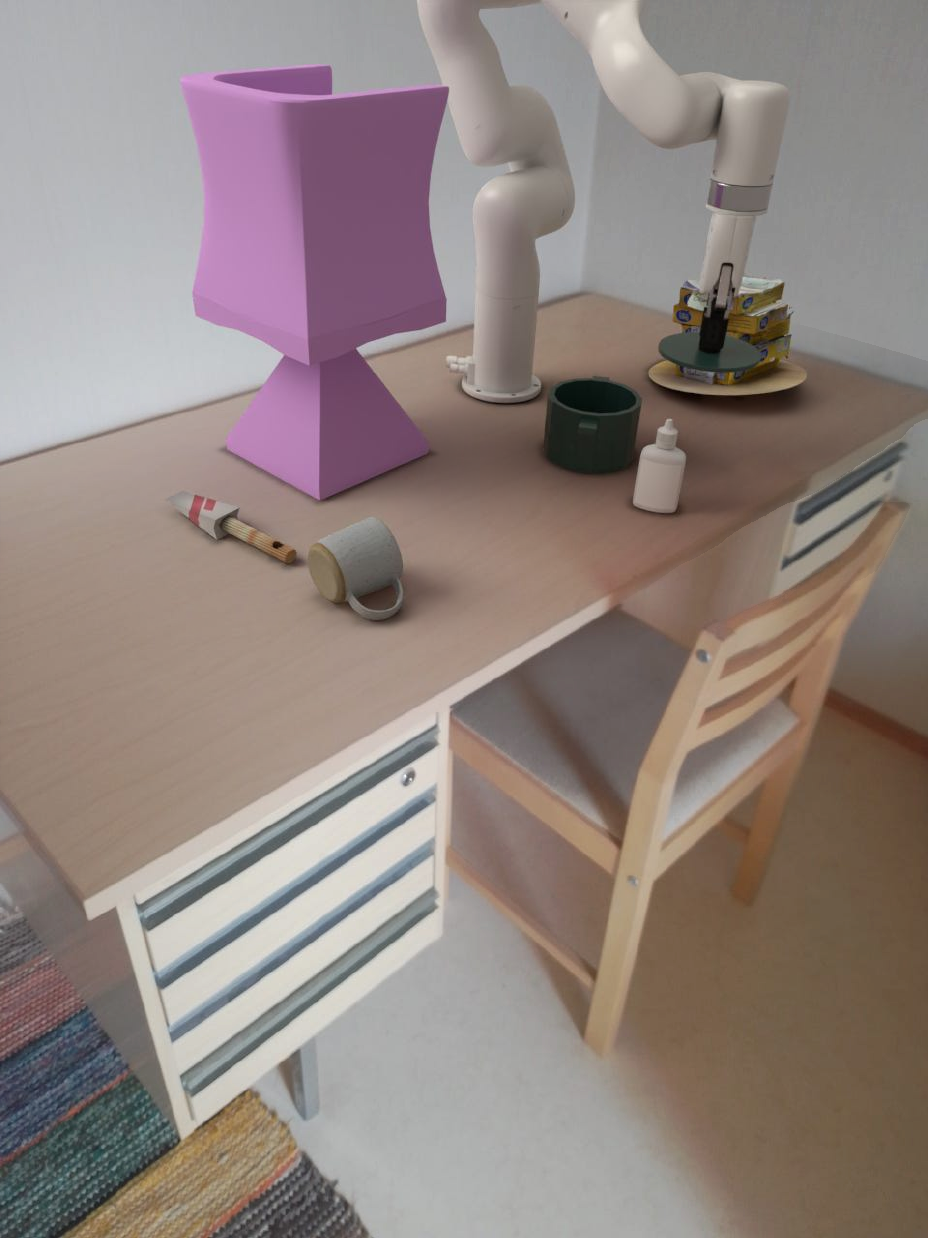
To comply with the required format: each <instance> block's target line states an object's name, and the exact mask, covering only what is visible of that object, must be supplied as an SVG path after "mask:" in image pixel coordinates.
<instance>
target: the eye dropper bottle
mask: <svg viewBox="0 0 928 1238" xmlns="http://www.w3.org/2000/svg"><path fill="white" fill-rule="evenodd" d="M673 421H674V420H673V418H667V419H666V420H665V423H664V426H660V427H659V428H657V432H656V438H655V443H653V444H648V445H646V446H644V447H643V448H642V450H641V452H640V456H639V461H638V466H637V467H638V468H637V472H636V479H635V485H634V491H633V498H632V504H633V506H634V507H636V508H638V509H640V510H644V511H647V512H651V513H659V514H672V513H674V512H676V510H677V508H678V503H679V499H680V493H681V487H682V483H683V479H684V472H685V468H686V461H687V455H686V453H685V452H684V451H683V450H682V449H680V448H679V447H677V446H676V444H677V439H678V433H679V432H678V430H677V429H676V428H675V427H674V423H673Z"/></svg>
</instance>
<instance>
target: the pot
mask: <svg viewBox="0 0 928 1238" xmlns="http://www.w3.org/2000/svg"><path fill="white" fill-rule="evenodd" d="M642 404H643V397H642V396H641V395H640V394H639V392H638V390H636V389H634V388H632V387H630V386H628V385H626V384H624V383H621V382H617V381H613V380H610V377H607V376H599V375H592V377H581V378H571V379H566V380H561V381H559V382H557V383H556V384H553V385H552V386H551V387H550V388H549V391H548V393H547V402H546V413H545V414H546V415H545V423H544V435H543V443H542V444H543V446H542V448H543V454H544V456H545V457H546V458H547V459H548V460H549V461H550V462H551V463H552V464H554V465H556V466H558V467H560V468H562V469H565V470H569V471H572V472H577V473H581V474H595V475H596V474H597V475H598V474H600V475H601V474H608V473H609V474H610V473H615V472H618V471H621V470H624V469H625V468H627V467H628V466H630V465H631V463H632V462H633V459H634V455H635V454H634V453H635V448H636V441H637V435H638V428H639V422H640V416H641V410H642Z"/></svg>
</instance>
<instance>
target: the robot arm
mask: <svg viewBox="0 0 928 1238" xmlns="http://www.w3.org/2000/svg"><path fill="white" fill-rule="evenodd" d="M416 4H417V5H416V7H417V12H418V13H417V14H418V18H419V22H420V26H421V29H422V31H423V35H424V37H425V40H426V42H427V45H428V47H429V50H430V53H431V55H432V57H433V61H434V63H435V66H436V68H437V71H438V74H439V77H440V80H441V85H443V86H448V87H449V95H448V100H447V105H448V108H449V111H450V115H451V118H452V121H453V124H454V127H455V132H456V134H457V138H458V140H459V144H460V146H461V148H462V151H463V153H464V155H465V157H466V158H467V159H468V160H469V161H470V163H472V164H473V165H475V166H478V167H481V168H482V167H483V168H490V167H497V166H501V165H505V164H508V168H509V171H510V172H506V173H503V174H500V175H497V176H495V177H493V178H492V179H490V180H488V181H487V182H486V183H485V184H484V185H483V186H482V187H481V188H480V190H479V191H478V192H477V194H476V196H475V198H474V202H473V206H472V228H473V234H474V242H475V255H476V257H475V259H476V261H475V263H476V268H475V269H476V270H475V271H476V272H475V297H474V299H475V301H474V305H475V306H474V322H473V323H474V324H473V344H472V345H473V346H472V355H466V357H461V356H459V355H450V354H447V356H446V359H445V368H448V369H449V373H451V374H452V373H453V374H463V376H462V379H461V389H462V390H463V391H464V392H465V393H466V394H467V395H469V396H470V397H473V398H475V399H478V400H480V401H485V402H489V403H496V404H515V403H516V404H517V403H522V402H526V401H529V400H532V399H534V398H536V397H537V396H538V395H539V394H540V393H541V391H542V381H541V380H540V379H539V377H538V376H536V374H534V373H533V369H534V358H535V357H534V356H535V345H536V344H535V343H536V332H537V322H538V320H537V319H538V309H539V297H540V286H541V285H540V284H541V283H540V282H541V267H540V261H539V255H538V251H537V247H536V240H538V239H539V238H541V237H544V236H548V235H550V234H553V233H555V232H557V231H558V230H560V229H562V228H563V227H565V226H566V224H568V222H569V221H570V219H571V218H572V215H573V213H574V210H575V206H576V191H575V190H576V189H575V185H574V184H575V183H574V181H573V176H572V173H571V169H570V165H569V162H568V158H567V154H566V150H565V147H564V144H563V139H562V137H561V132H560V129H559V125H558V122H557V119H556V116H555V113H554V111H553V108H552V107H551V104H550V103H549V102H548V100H547V99H546V98H545V96H544V95H543V94H542V93H541V92H539V90H537V89H535V88H533V87H531V86H528V85H511V86H510V84H509V82H508V79H507V76H506V73H505V70H504V68H503V63H502V59H501V56H500V52H499V50H498V47H497V44H496V42H495V41H494V39H493V36H492V35H491V34H490V32H489V30H488V29H487V28H486V26H485V25H484V23H483V21H482V20H481V18H480V14H479V13H480V10H493V9H509V8H510V9H511V8H519V7H525V6H532V5H533V6H534V5H538V4H543V6H544V7H545V8H546V9H547V10H548V11H549V12H550V13H551V14H552V15H553V16H554V17H555V18H556V19H557V20H558V21H559V23H561V24H562V26H563V27H564V28H565V29H566V30H567V31H568V33H570V35H572V37H573V38H574V39H575V40H576V41H577V42H578V43H579V45H581V46H582V48H583V49H584V50H585V51H586V52H587V53H588V55H589V56H590V57H591V60H592V65H593V68H594V71H595V73H596V76H597V78H598V80H599V83H600V85H601V88H602V90H603V91H604V93H605V95H606V97H607V98H608V100H609V101H610V103H611V104H612V105H613V106H614V107H615V109H616V110H617V111H618V113H620V114H621V115H622V116H623V118H624V119H626V121H627V122H628V123H629V124H630V125H631V126H632V128H634V130H636V131H637V133H638V134H640V135H641V136H642V137H643V138H644V139H646V140H647V141H648V142H650V143H651V144H653V145H654V146H656V147H659V148H661V149H666V150H675V149H679V148H683V147H686V146H688V145H692V144H698V143H703V142H708V141H716V142H715V147H714V152H713V159H712V165H711V171H710V178H709V183H708V188H707V194H706V199H705V208H706V209H707V210H709V211H711V212H712V213H711V217H710V222H709V227H708V231H707V235H706V236H707V237H706V241H705V247H704V254H703V259H702V265H701V270H700V274H699V280H700V284H699V292H700V293H701V294H702V295H704V294H705V293H708V297H707V303H706V306H708V307H704V311H703V316H702V322H701V327H700V333H699V336H700V340H699V346H700V347H702V348H712V349H722V348H723V347H724V342H725V336H726V331H727V326H728V321H729V318H728V314H729V308H730V303H731V299H732V296H733V298H734V297H736V296H737V295H738V293H739V290H740V286H741V282H742V279H743V275H745V274H744V273H745V271H746V267H747V261H748V258H749V253H750V248H751V243H752V239H753V234H754V229H755V224H756V220H757V217H758V216H762V215H765V214H767V213H768V209H769V206H770V205H769V204H770V200H771V195H772V191H773V185H774V179H775V175H776V171H777V165H778V161H779V156H780V151H781V146H782V141H783V137H784V133H785V127H786V122H787V117H788V113H789V108H790V102H791V94H790V90H789V89H788V87H787V86H786V85H784V84H781V83H778V82H774V81H769V80H754V79H753V80H752V79H751V80H750V79H749V80H741V79H737V78H734V77H731V76H729V75H728V76H727V75H724V74H722V73H718V72H712V71H700V72H694V73H693V72H691V73H687V74H681V75H679V74H677V72H675V70H674V69H673V68H671V66H670V65H669V64H668V63H667V62H665V60H664V59H663V58H662V57H661V56H660V55H659V54H658V52H657V51H656V50H655V49H654V48H653V47H652V45H651V44H650V43H649V41H648V40H647V37H646V36H645V35H644V32H643V30H642V26H641V21H640V19H641V16H642V13H643V10H644V0H416ZM706 310H707V313H706V316H704V314H705V311H706Z"/></svg>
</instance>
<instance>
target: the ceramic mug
mask: <svg viewBox="0 0 928 1238" xmlns="http://www.w3.org/2000/svg"><path fill="white" fill-rule="evenodd" d="M307 566H308V567H307V568H308V571H309V575H310V577H311V579H312V581H313V583H314V586H315V587H316V589H317V590H318V592H319V593H320V594H321V595H322V597H324V598H325V600H328V601H329V602H331V603H333V604H342V603H347V602H348V604H349V605H350V607H351V608H352V610H353V611H355V612H356V613H357V614H359V615H360V616H361V617H363V618H365V619H368V620H374V621H381V620H385V619H388V618H390V617H392V616H394V615H395V614H396V613H397V612H398V611H399V610H400V608H401V606H402V603H403V600H404V590H403V586H402V585H403V584H402V582H401V579H402V577H403V573H404V561H403V555H402V552H401V549H400V546H399V544H398V541H397V539H396V537H395V535H394V534H393V533H392V531H391V529H390V528H389V527H388V525H386V524H385V522H384V521H382V520H381V519H380V518H378V517H374V516H369V517H366V518H363V519H362V520H359V521H358V522H355V523H353V524H351V525H348V526H345V527H344V528H341V529H339V530H337V531H335V532H333V533H331V534H329V535H326V536H323V537H322V538H320V539H319V540H318V541H316V542H314V543H313V544H312V545H311V546H310V548H309V549H308V553H307ZM390 586H393V588H394V589H395V592H396V597H397V600H396V603H395V605H394V606H392V607H390V608H387V609H383V610H376V609H370V608H368V607H366V606H364V605H362V603H361V602H360V601H359V600H358V598H360V597H363V596H366V595H368V594H372V593H374V592H377V591H379V590H382V589H384V588H388V587H390Z"/></svg>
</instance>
